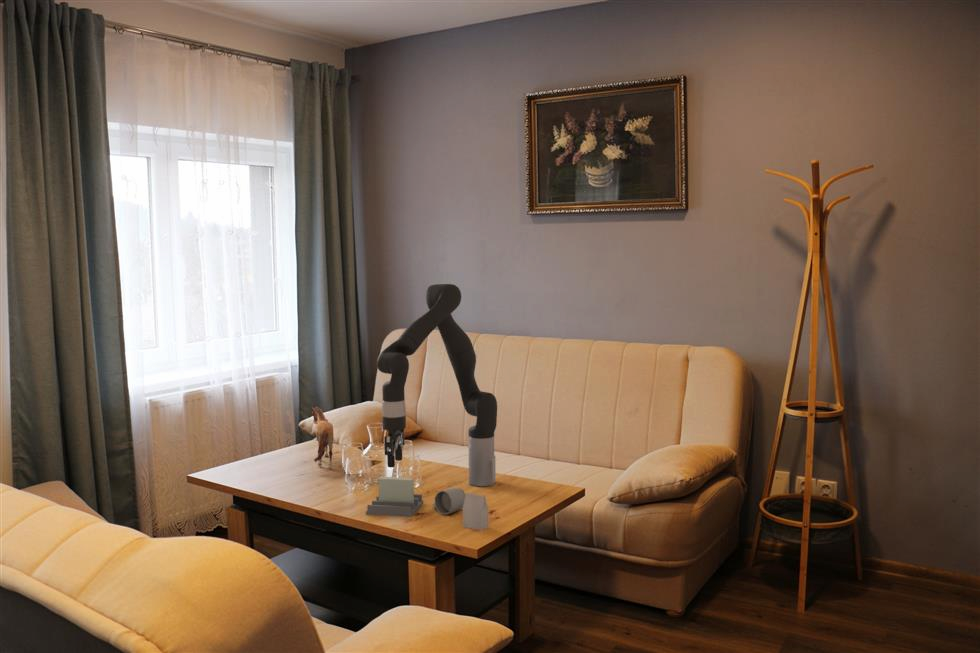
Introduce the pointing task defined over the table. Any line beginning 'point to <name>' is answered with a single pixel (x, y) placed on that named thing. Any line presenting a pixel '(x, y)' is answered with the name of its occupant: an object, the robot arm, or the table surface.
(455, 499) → the ceramic mug
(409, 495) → the green tile
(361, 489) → the table surface
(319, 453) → the horse figurine
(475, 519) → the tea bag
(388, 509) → the slot rack
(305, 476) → the table surface
